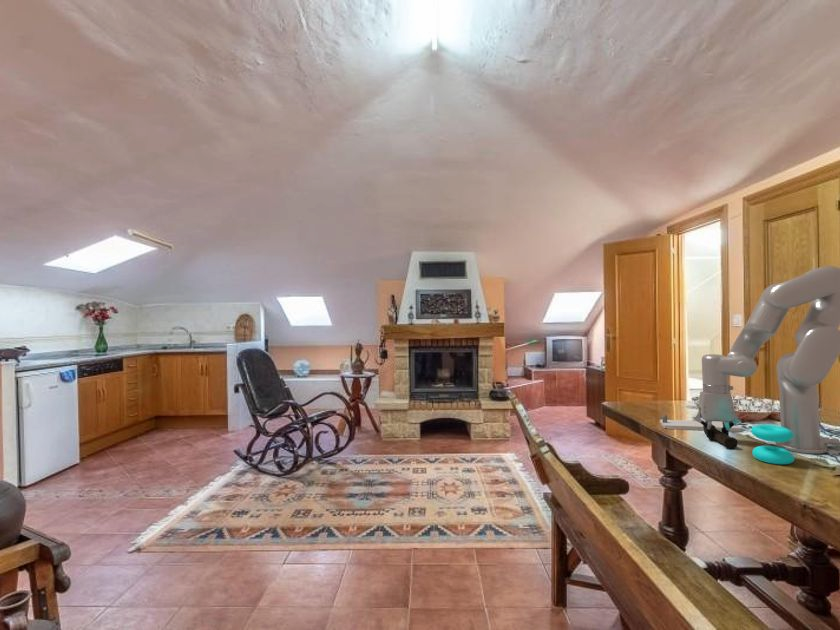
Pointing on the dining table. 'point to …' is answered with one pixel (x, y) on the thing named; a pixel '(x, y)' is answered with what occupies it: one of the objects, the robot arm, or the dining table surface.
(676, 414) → the dining table surface
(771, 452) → the donuts
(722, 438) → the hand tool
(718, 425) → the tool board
